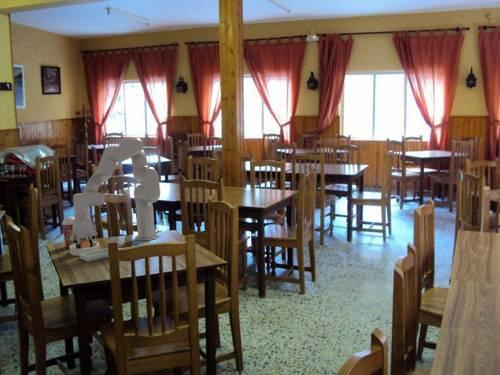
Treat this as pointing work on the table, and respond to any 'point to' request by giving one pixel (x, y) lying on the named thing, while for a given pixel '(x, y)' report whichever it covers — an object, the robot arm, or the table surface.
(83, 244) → the ball
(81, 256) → the tray
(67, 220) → the smoothie
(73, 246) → the bowl
